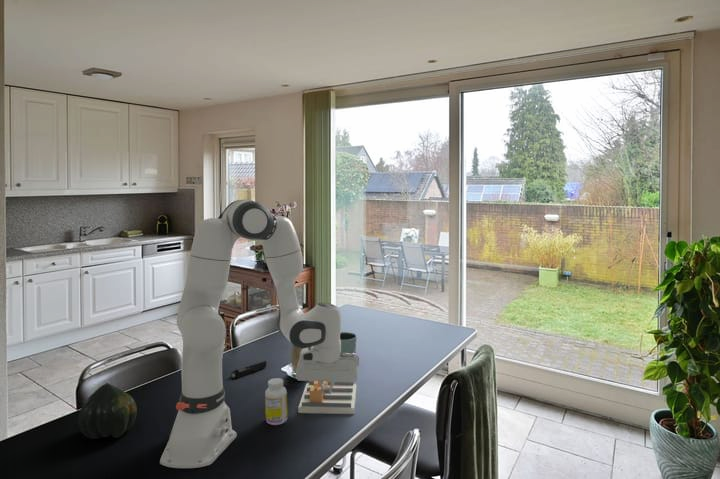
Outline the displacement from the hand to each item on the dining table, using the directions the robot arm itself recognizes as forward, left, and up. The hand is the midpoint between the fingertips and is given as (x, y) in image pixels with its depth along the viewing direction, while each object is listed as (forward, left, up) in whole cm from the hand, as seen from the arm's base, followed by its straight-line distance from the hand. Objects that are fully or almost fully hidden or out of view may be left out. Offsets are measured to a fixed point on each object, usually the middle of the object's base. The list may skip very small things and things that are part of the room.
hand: (326, 393), depth 148 cm
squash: (-17, +63, -6) cm, 65 cm away
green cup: (+39, -3, -6) cm, 39 cm away
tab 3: (+11, +3, -3) cm, 12 cm away
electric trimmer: (+28, +34, -6) cm, 45 cm away
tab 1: (+6, +3, -3) cm, 7 cm away
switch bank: (+6, 0, -5) cm, 8 cm away
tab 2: (0, +3, -3) cm, 5 cm away
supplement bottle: (-8, +15, -6) cm, 18 cm away
